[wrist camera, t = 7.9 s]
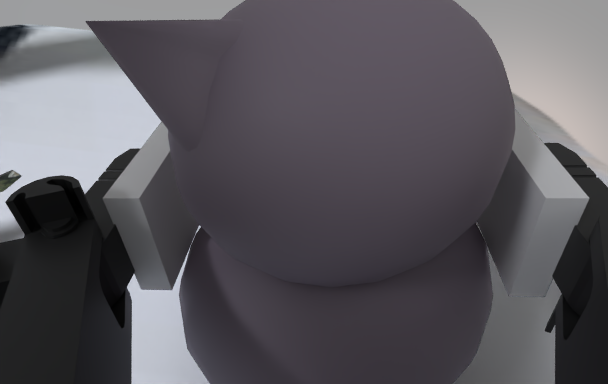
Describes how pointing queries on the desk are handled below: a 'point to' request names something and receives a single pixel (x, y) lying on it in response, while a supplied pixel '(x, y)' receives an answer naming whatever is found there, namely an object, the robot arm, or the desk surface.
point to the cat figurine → (329, 183)
